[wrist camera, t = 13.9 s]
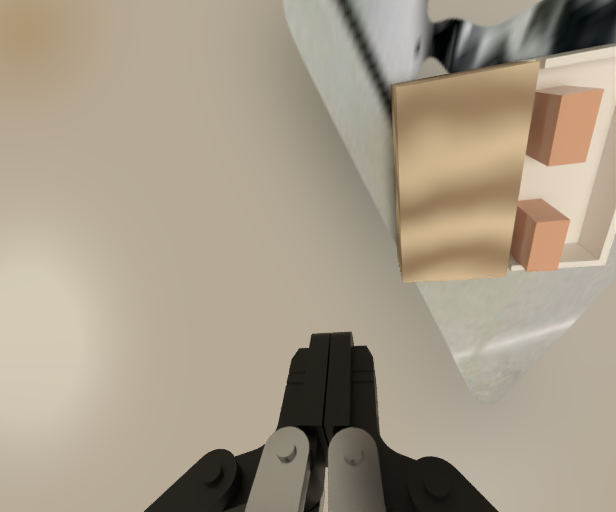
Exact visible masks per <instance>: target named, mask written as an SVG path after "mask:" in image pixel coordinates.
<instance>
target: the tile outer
mask: <svg viewBox="0 0 616 512" xmlns="http://www.w3.org/2000/svg"><path fill="white" fill-rule="evenodd" d="M569 224H570V219H569V218H567V217H566V216H565V215H563V214H562V213H561V212H559V211H558V210H556V209H555V208H554V207H552V206H551V205H550V204H548V203H547V202H545V201H544V200H543V199H532V200H521V201H518V204H517V210H516V217H515V223H514V229H513V235H512V242H511V248H510V252H511V253H512V254H513V256H514V257H515V258H516V259H517V261H518V262H519V263H520V264H521V265H522V267H523V268H524V269H525V270H526V272H531V271H549V270H558V266H559V262H560V258H561V254H562V251H563V247H564V243H565V239H566V235H567V231H568V228H569Z"/></svg>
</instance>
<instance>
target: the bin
mask: <svg viewBox="0 0 616 512" xmlns="http://www.w3.org/2000/svg"><path fill="white" fill-rule="evenodd" d="M529 61H540V66H539V72H538V79H537V85H536V90H539V89H545V88H551V87H557V86H563V85H567V86H579V87H590V88H602V89H604V92H603V95H602V99H601V103H600V107H599V111H598V115H597V119H596V123H595V127H594V131H593V135H592V139H591V143H590V147H589V151H588V154H587V158H586V162H583V163H575V164H566V165H558V166H550V167H548V166H546V165H544V164H542V163H540V162H538V161H536V160H535V159H533V158H531V157H529V156H527V155H525V160H524V166H523V173H522V179H521V185H520V191H519V198H518V201H521V200H532V199H543V200H544V201H545V202H547V203H548V204H550V205H551V206H552V207H554V208H555V209H556V210H558V211H559V212H561V213H562V214H563V215H565V216H566V217H567V218H569V219H570V224H569V228H568V231H567V235H566V239H565V243H564V247H563V251H562V254H561V258H560V262H559V266H558V268H566V267H582V266H599V265H605V263H606V260H607V257H608V254H609V251H610V248H611V245H612V242H613V239H614V236H615V233H616V43H612V44H606V45H601V46H596V47H590V48H585V49H579V50H574V51H569V52H563V53H558V54H552V55H547V56H542V57H536V58H531V59H526V60H520V61H515V62H529ZM508 268H509V269H510V270H511V271H516V270H525V269H524V268H523V267H522V265H521V264H520V263H519V262H518V261H517V259H516V258H515V257H514V256H513V254H512V253H511V252H510V254H509V260H508Z"/></svg>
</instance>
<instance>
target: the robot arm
mask: <svg viewBox="0 0 616 512" xmlns="http://www.w3.org/2000/svg"><path fill="white" fill-rule="evenodd" d="M325 467H328V512H498V511H497V510H496V509H495V508H494V507H493V506H492V505H491V504H490V503H489V502H488V501H487V500H486V499H485V497H484V496H483V495H481V494H480V492H479V491H477V490H476V488H475V487H474V486H473V485H472V484H471V483H469V481H468V480H467V479H466V478H465V477H464V476H463V475H462V474H461V473H460V472H459V471H458V470H457V469H456V468H455V467H454V466H452V465H451V464H450V463H448V462H447V461H445V460H443V459H441V458H437V457H432V456H431V457H423V458H420V459H418V460H414V459H412V458H409V457H406V456H404V455H401V454H399V453H396V452H395V451H393V450H392V449H390V448H389V447H388V446H387V445H386V444H385V443H384V441H383V440H382V438H381V436H380V432H379V416H378V401H377V387H376V377H375V370H374V362H373V356H372V355H371V353H370V351H369V349H368V348H367V346H354V343H353V336H352V332H337V333H318V334H312V335H311V341H310V346H309V348H300V349H298V351H297V352H296V354H295V355H294V357H293V358H292V360H291V365H290V370H289V375H288V379H287V385H286V389H285V394H284V398H283V403H282V408H281V413H280V418H279V422H278V426H277V429H276V431H275V432H274V433H273V434H272V435H271V436H270V437H269V439H268V440H267V442H266V444H264V445H263V446H262V447H260V448H258V449H256V450H253V451H250V452H247V453H244V454H241V455H239V456H235V457H234V455H233V454H232V453H231V452H230V451H227V450H225V449H216V450H213V451H211V452H209V453H207V454H206V455H204V456H203V457H202V458H201V459H200V460H199V461H198V462H197V463H196V464H194V465H193V466H192V467H191V468H190V469H189V470H188V471H187V472H186V473H185V474H184V475H183V476H182V477H180V478H179V479H178V480H177V481H176V482H175V483H174V484H173V485H172V486H171V487H170V488H169V489H168V490H167V491H165V492H164V493H163V494H162V495H161V496H160V497H159V498H158V499H157V500H156V501H155V502H154V503H153V504H151V505H150V506H149V507H148V508H147V509H146V510H145V511H144V512H323V506H324V498H325V490H324V480H325V479H324V478H325Z"/></svg>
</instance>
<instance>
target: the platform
mask: <svg viewBox="0 0 616 512" xmlns="http://www.w3.org/2000/svg"><path fill="white" fill-rule="evenodd" d="M539 66H540V61H529V62H509V63H504V64H499V65H493V66H488V67H482V68H477V69H472V70H466V71H461V72H455V73H450V74H445V75H439V76H434V77H429V78H423V79H418V80H412V81H407V82H402V83H396V84H391V100H392V125H393V150H394V175H395V200H396V225H397V250H398V262H399V267H400V272H401V277H402V282H403V283H408V282H426V281H444V280H462V279H480V278H497V277H506V273H507V267H508V260H509V254H510V248H511V242H512V235H513V229H514V223H515V217H516V210H517V204H518V198H519V191H520V185H521V179H522V173H523V166H524V160H525V154H526V148H527V141H528V135H529V129H530V122H531V116H532V110H533V104H534V97H535V91H536V85H537V79H538V72H539Z"/></svg>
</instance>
